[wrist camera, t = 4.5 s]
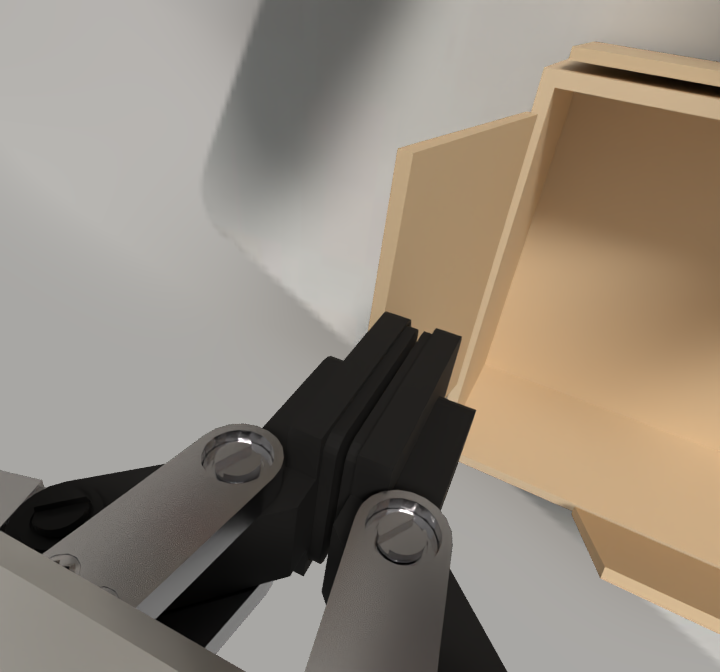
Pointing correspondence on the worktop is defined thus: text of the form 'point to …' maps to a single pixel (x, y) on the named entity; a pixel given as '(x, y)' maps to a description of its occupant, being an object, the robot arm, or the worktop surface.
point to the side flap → (652, 570)
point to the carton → (609, 302)
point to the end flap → (448, 226)
